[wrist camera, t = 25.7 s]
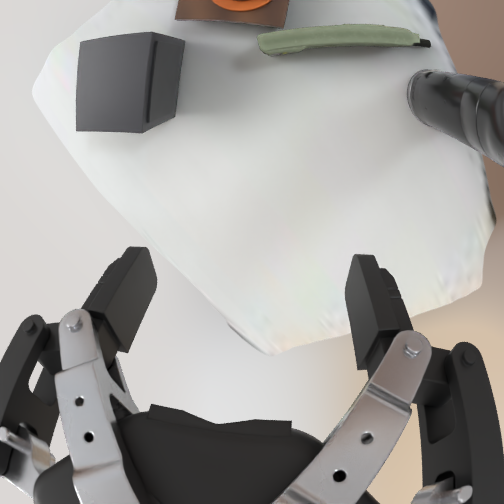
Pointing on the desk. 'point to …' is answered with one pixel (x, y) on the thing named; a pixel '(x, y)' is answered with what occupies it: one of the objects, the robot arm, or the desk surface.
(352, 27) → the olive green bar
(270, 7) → the stand
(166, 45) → the dark grey cube pedestal
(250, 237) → the desk surface
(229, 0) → the hat
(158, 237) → the desk surface
